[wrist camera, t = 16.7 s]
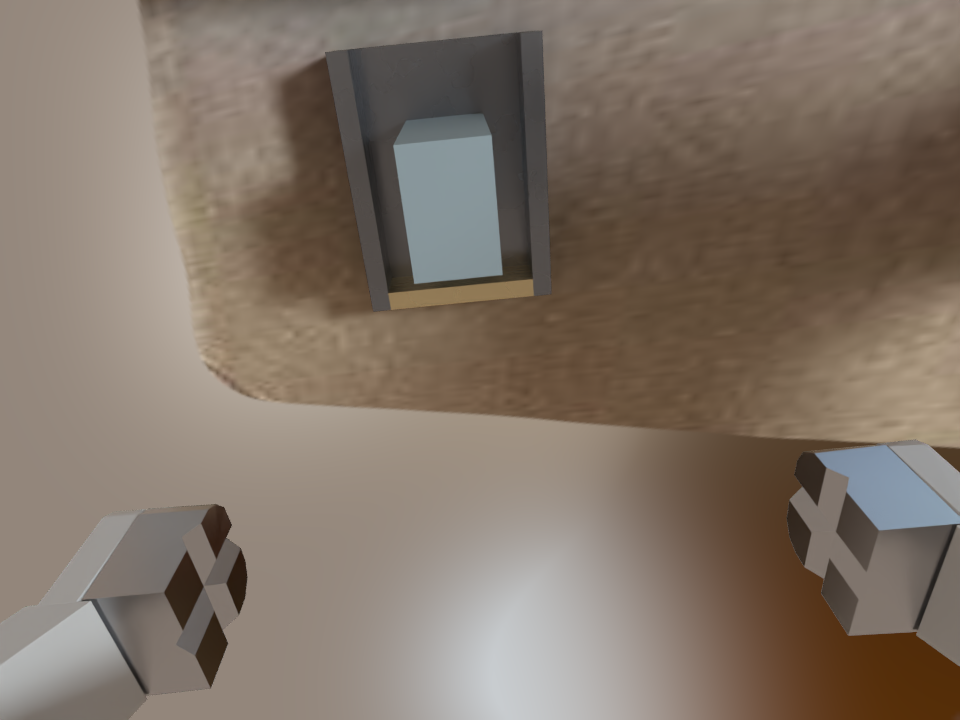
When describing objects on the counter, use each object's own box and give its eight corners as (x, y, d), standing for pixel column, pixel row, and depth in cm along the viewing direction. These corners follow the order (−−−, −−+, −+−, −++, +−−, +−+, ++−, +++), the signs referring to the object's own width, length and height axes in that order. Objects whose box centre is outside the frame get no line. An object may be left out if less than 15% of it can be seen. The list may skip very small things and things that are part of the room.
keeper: (534, 30, 31) (542, 30, 28) (544, 275, 37) (551, 294, 34) (336, 50, 31) (325, 52, 28) (379, 291, 37) (373, 311, 34)
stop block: (482, 112, 32) (491, 135, 25) (492, 225, 35) (502, 275, 28) (406, 120, 32) (393, 145, 25) (421, 232, 35) (414, 283, 28)
